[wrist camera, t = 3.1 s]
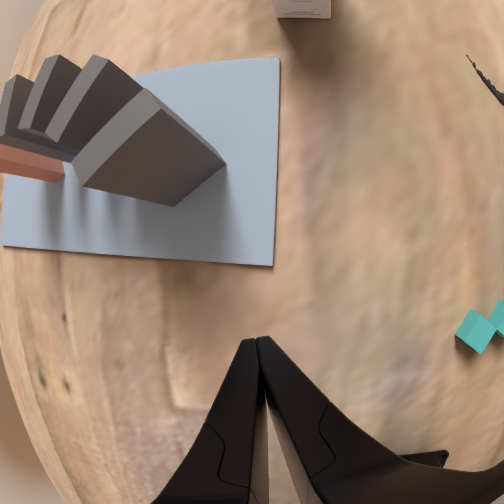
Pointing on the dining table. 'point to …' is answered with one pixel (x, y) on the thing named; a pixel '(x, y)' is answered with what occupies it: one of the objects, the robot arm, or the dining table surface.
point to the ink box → (302, 8)
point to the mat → (192, 206)
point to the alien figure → (481, 328)
